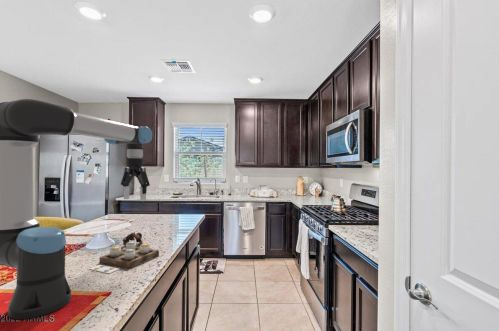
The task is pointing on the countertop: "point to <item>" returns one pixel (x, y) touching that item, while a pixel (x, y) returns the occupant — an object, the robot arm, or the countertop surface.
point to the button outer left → (131, 245)
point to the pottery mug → (131, 237)
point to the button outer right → (145, 248)
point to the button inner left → (115, 251)
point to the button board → (130, 263)
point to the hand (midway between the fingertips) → (134, 199)
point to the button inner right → (129, 254)
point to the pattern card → (104, 269)
